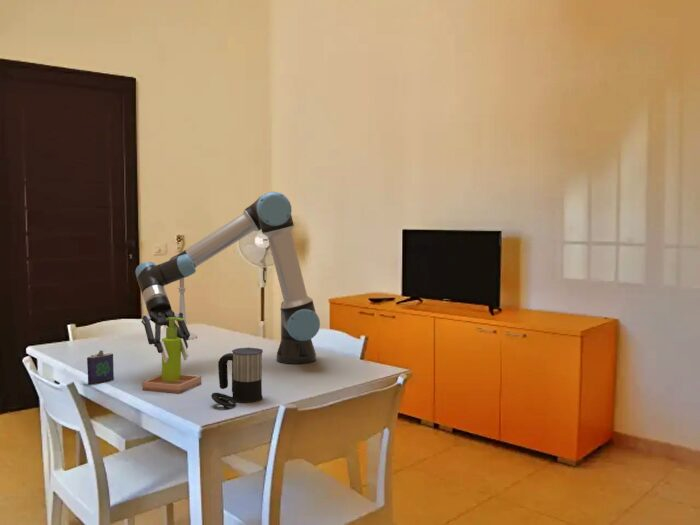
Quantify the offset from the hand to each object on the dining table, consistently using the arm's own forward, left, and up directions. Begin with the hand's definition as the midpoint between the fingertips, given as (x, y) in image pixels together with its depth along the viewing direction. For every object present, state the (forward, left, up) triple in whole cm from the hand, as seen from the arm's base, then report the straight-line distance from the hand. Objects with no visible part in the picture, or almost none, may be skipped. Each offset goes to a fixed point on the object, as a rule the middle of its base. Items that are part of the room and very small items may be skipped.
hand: (176, 358), depth 205 cm
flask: (+29, 0, -10) cm, 31 cm away
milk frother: (-25, +7, -10) cm, 28 cm away
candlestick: (+48, -78, -10) cm, 92 cm away
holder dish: (+3, -2, -10) cm, 10 cm away
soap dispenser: (+3, -2, -8) cm, 8 cm away
